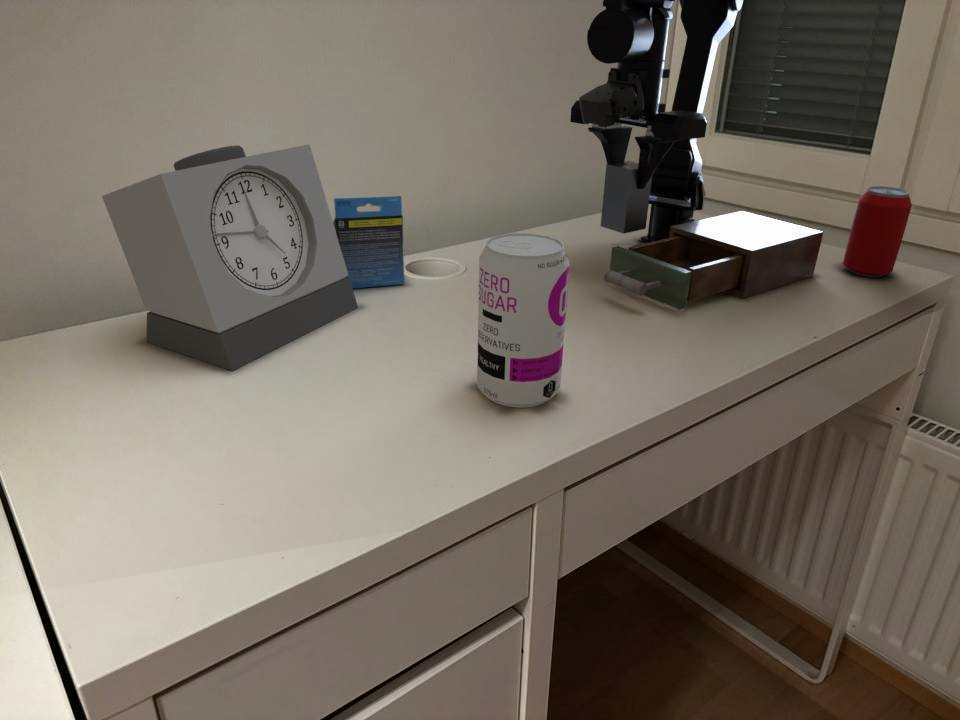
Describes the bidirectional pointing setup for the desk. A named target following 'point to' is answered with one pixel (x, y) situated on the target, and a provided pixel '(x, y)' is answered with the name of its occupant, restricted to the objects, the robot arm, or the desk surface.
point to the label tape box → (371, 240)
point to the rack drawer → (675, 270)
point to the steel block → (624, 198)
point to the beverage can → (877, 231)
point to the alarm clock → (233, 253)
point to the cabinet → (759, 248)
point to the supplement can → (521, 318)
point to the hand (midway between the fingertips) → (627, 185)
